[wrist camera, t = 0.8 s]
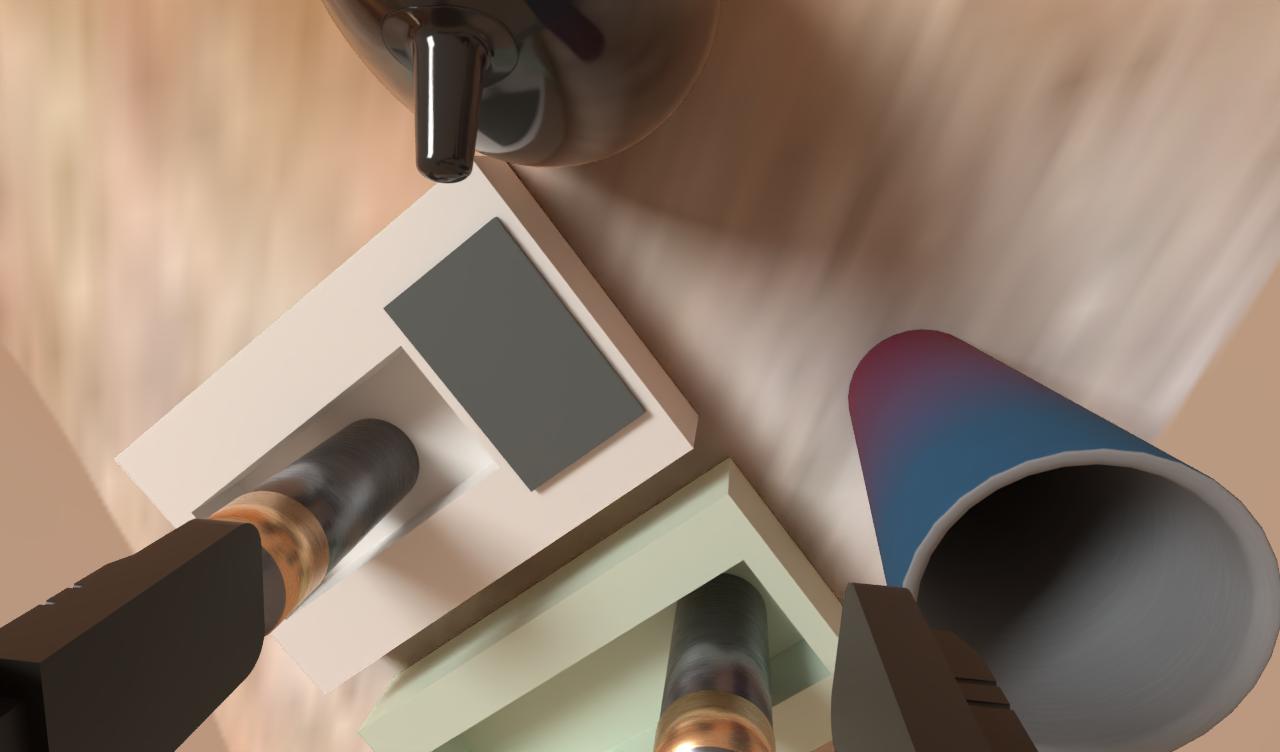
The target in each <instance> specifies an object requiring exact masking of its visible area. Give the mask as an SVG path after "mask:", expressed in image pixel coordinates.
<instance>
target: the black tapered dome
mask: <svg viewBox="0 0 1280 752" xmlns="http://www.w3.org/2000/svg"><path fill="white" fill-rule="evenodd" d="M322 2H323V4H324V6H325V8H326V10H327V11H328V13H329V15H330V17H331V18H332V20H333V21H334V23H335V25H336V26H337V28H338V29H339V31H340V32H341V34H342V35H343V36H344V38H345V39H346V41H347V42H348V43H349V45H350V46H351V47H352V49H353V50H354V51H355V53H356V54H357V55H358V57H359V58H360V59H361V60H362V62H363V63H364V64H365V65H366V67H367V68H368V69H369V70H370V71H371V73H372V74H373V75H374V76H375V77H376V78H377V79H378V80H379V81H380V83H381V84H382V85H383V86H384V87H385V88H386V89H387V90H388V91H389V92H390V93H391V94H392V95H393V96H394V97H395V98H396V99H397V100H398V101H400V102H401V103H402V104H403V105H404V106H405V107H406V108H407V109H409V110H410V111H411V112H412V113H413V114H415V150H416V167H417V169H418V171H419V172H420V173H421V174H422V175H423V176H424V177H425V178H427V179H429V180H431V181H434V182H438V183H445V184H450V183H458V182H461V181H463V180H465V179H466V178H468V177H469V175H470V174H471V172H472V169H473V162H474V155H475V151H477V152H479V153H482V154H484V155H487V156H489V157H492V158H495V159H498V160H501V161H505V162H509V163H513V164H518V165H524V166H531V167H546V168H556V167H569V166H577V165H583V164H587V163H592V162H595V161H599V160H602V159H605V158H607V157H610V156H613V155H615V154H617V153H619V152H622V151H624V150H626V149H627V148H629V147H631V146H633V145H634V144H636V143H638V142H639V141H641V140H642V139H644V138H645V137H646V136H648V135H649V134H650V133H652V132H653V131H654V130H655V129H657V128H658V127H659V126H660V125H661V124H662V123H663V122H664V121H665V120H666V119H667V118H668V117H669V116H670V115H671V114H672V113H673V112H674V111H675V110H676V108H677V107H678V106H679V105H680V103H681V102H682V101H683V100H684V98H685V97H686V95H687V94H688V93H689V91H690V89H691V88H692V86H693V85H694V83H695V81H696V79H697V78H698V76H699V74H700V72H701V70H702V68H703V66H704V63H705V61H706V59H707V56H708V54H709V51H710V48H711V45H712V42H713V39H714V35H715V31H716V27H717V23H718V18H719V11H720V3H721V0H322Z"/></svg>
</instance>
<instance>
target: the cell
mask: <svg viewBox="0 0 1280 752" xmlns="http://www.w3.org/2000/svg"><path fill="white" fill-rule="evenodd" d="M418 475H419V458H418V454H417V451H416V449H415V446H414V445H413V443H412V441H411V440H410V439H409V437H408V436H407V435H406V434H405V433H404V432H403V431H402V430H401V429H400V428H398V427H397V426H395V425H393V424H391V423H389V422H387V421H384V420H380V419H373V418H369V419H361V420H358V421H355V422H353V423H351V424H349V425H348V426H346V427H345V428H343V429H342V430H340V431H339V432H337V433H336V434H334V435H333V436H331V437H330V438H328V439H327V440H325V441H324V442H322V443H321V444H319V445H318V446H317V447H315V448H314V449H312V450H311V451H309V452H308V453H306V454H305V455H303V456H302V457H300V458H299V459H297V460H296V461H294V462H293V463H291V464H290V465H288V466H287V467H285V468H284V469H282V470H281V471H279V472H278V473H276V474H275V475H273V476H272V477H270V478H269V479H268V480H266V481H265V482H263V483H262V484H260V485H259V486H257V487H256V488H254V489H253V490H251V491H250V492H248V493H247V494H244V495H242V496H240V497H238V498H236V499H235V500H233V501H232V502H230V503H229V504H227V505H226V506H224V507H223V508H221V509H220V510H218V511H217V512H215V513H214V514H212V515H211V516H210V517H208V518H207V519H212V520H223V521H233V522H243V523H251V524H253V525H254V526H255V527H256V528H257V529H258V531H259V534H260V538H261V545H262V569H263V594H264V620H265V633H264V637H265V636H266V635H268V634H270V633H271V632H272V631H273V630H274V629H275V628H276V627H277V626H278V625H279V624H280V623H281V622H282V621H283V620H284V619H285V618H286V617H287V616H288V615H289V614H290V613H291V612H292V611H293V610H294V609H295V608H296V607H297V606H298V605H299V604H300V603H301V602H302V601H303V600H304V599H305V598H306V597H307V596H308V595H309V594H310V593H311V592H312V591H313V590H314V589H315V588H316V587H317V586H318V585H319V584H320V583H321V581H322V580H323V578H324V577H325V576H326V575H327V574H328V573H329V572H330V571H331V570H332V569H333V568H334V567H335V566H336V565H337V564H338V563H339V562H340V561H341V560H342V559H343V558H344V557H345V556H346V555H347V554H348V553H349V552H350V551H351V550H352V549H353V548H354V547H355V546H356V545H357V544H358V543H359V542H360V541H361V540H362V539H363V538H364V537H365V536H366V535H367V534H368V533H369V532H370V531H371V530H372V529H373V528H374V527H375V526H376V525H377V524H378V523H379V522H380V521H381V520H382V519H383V518H384V517H385V516H386V515H387V514H388V513H389V512H390V511H391V510H392V509H393V508H394V507H395V506H396V505H397V504H398V503H399V502H400V501H401V500H402V499H403V498H404V497H405V496H406V495H407V494H408V493H409V492H410V491H411V490H412V488H413V487H414V485H415V483H416V481H417V478H418Z"/></svg>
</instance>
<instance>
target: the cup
mask: <svg viewBox="0 0 1280 752" xmlns="http://www.w3.org/2000/svg"><path fill="white" fill-rule="evenodd" d="M848 400H849V411H850V416H851V420H852V425H853V430H854V434H855V439H856V444H857V448H858V453H859V458H860V462H861V467H862V471H863V476H864V481H865V485H866V490H867V495H868V499H869V504H870V509H871V513H872V518H873V523H874V527H875V532H876V536H877V541H878V546H879V550H880V555H881V560H882V564H883V569H884V574H885V578H886V583H887V586H891V587H901V588H908V589H909V590H910V592H911V594H912V596H913V598H914V600H915V601H916V603H917V605H918V607H919V609H920V611H921V613H922V615H923V617H924V619H925V621H926V623H927V625H928V627H929V629H939V630H949V631H951V632H953V633H954V634H955V635H956V636H958V637H959V638H960V639H961V640H963V641H964V642H965V643H967V644H968V645H969V646H970V647H972V648H973V649H974V650H975V651H977V652H978V653H979V654H980V655H981V656H982V658H983V660H984V661H985V663H986V665H987V666H988V668H989V670H990V671H991V673H992V675H993V676H994V678H995V680H996V681H997V682H996V685H997V687H1000V688H1001V690H1002V691H1003V693H1004V695H1005V696H1006V698H1007V700H1008V701H1009V703H1010V710H1014V712H1015V713H1016V715H1017V717H1018V718H1019V720H1020V722H1021V723H1022V725H1023V727H1024V728H1025V730H1026V732H1027V733H1028V735H1029V737H1030V738H1031V740H1032V742H1033V743H1034V745H1035V747H1036V748H1037V750H1038V752H1172V751H1174V750H1177V749H1178V748H1180V747H1182V746H1184V745H1185V744H1187V743H1189V742H1191V741H1193V740H1195V739H1197V738H1198V737H1200V736H1202V735H1204V734H1205V733H1207V732H1208V731H1209V730H1210V729H1212V728H1213V727H1214V726H1215V725H1217V724H1218V723H1219V722H1220V721H1222V720H1223V719H1224V718H1225V717H1227V716H1228V715H1229V714H1230V713H1232V712H1233V711H1234V709H1235V708H1236V707H1237V706H1238V705H1239V704H1240V703H1241V701H1242V700H1243V699H1244V698H1245V697H1246V696H1247V694H1248V693H1249V692H1250V691H1251V690H1252V689H1253V688H1254V686H1255V685H1256V683H1257V681H1258V679H1259V678H1260V676H1261V674H1262V672H1263V671H1264V669H1265V667H1266V665H1267V663H1268V662H1269V660H1270V658H1271V656H1272V653H1273V649H1274V646H1275V643H1276V640H1277V636H1278V633H1279V630H1280V574H1279V568H1278V563H1277V559H1276V557H1275V554H1274V552H1273V550H1272V548H1271V546H1270V543H1269V541H1268V539H1267V537H1266V535H1265V533H1264V531H1263V529H1262V527H1261V526H1260V525H1259V523H1258V522H1257V521H1256V520H1255V518H1254V517H1253V516H1252V515H1251V513H1250V512H1249V511H1248V509H1247V508H1246V507H1245V506H1244V504H1243V503H1242V502H1241V501H1240V500H1239V499H1238V498H1236V497H1235V496H1234V495H1233V494H1231V493H1230V492H1229V491H1228V490H1226V489H1225V488H1224V487H1223V486H1221V485H1220V484H1219V483H1218V482H1216V481H1215V480H1214V479H1212V478H1211V477H1209V476H1207V475H1205V474H1203V473H1201V472H1200V471H1198V470H1196V469H1194V468H1193V467H1191V466H1189V465H1187V464H1185V463H1184V462H1182V461H1180V460H1178V459H1176V458H1174V457H1172V456H1171V455H1169V454H1167V453H1165V452H1163V451H1162V450H1160V449H1158V448H1156V447H1154V446H1153V445H1151V444H1149V443H1147V442H1145V441H1144V440H1142V439H1140V438H1138V437H1136V436H1134V435H1133V434H1131V433H1129V432H1127V431H1125V430H1124V429H1122V428H1120V427H1118V426H1116V425H1114V424H1113V423H1111V422H1109V421H1107V420H1105V419H1103V418H1102V417H1100V416H1098V415H1096V414H1094V413H1093V412H1091V411H1089V410H1087V409H1085V408H1083V407H1082V406H1080V405H1078V404H1076V403H1074V402H1073V401H1071V400H1069V399H1067V398H1065V397H1063V396H1062V395H1060V394H1058V393H1056V392H1054V391H1053V390H1051V389H1049V388H1047V387H1045V386H1043V385H1042V384H1040V383H1038V382H1036V381H1034V380H1033V379H1031V378H1029V377H1027V376H1025V375H1023V374H1022V373H1020V372H1018V371H1016V370H1014V369H1013V368H1011V367H1009V366H1007V365H1005V364H1003V363H1002V362H1000V361H998V360H996V359H994V358H993V357H991V356H989V355H987V354H985V353H983V352H982V351H980V350H978V349H976V348H974V347H973V346H971V345H969V344H967V343H965V342H963V341H962V340H960V339H958V338H956V337H954V336H952V335H950V334H946V333H943V332H939V331H934V330H913V331H906V332H903V333H900V334H896V335H893V336H891V337H889V338H887V339H885V340H884V341H882V342H880V343H879V344H878V345H876V346H875V347H874V348H872V349H871V350H870V351H869V352H868V353H867V354H866V355H865V357H864V358H863V359H862V360H861V361H860V363H859V365H858V367H857V368H856V370H855V372H854V374H853V377H852V380H851V383H850V388H849V395H848Z"/></svg>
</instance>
